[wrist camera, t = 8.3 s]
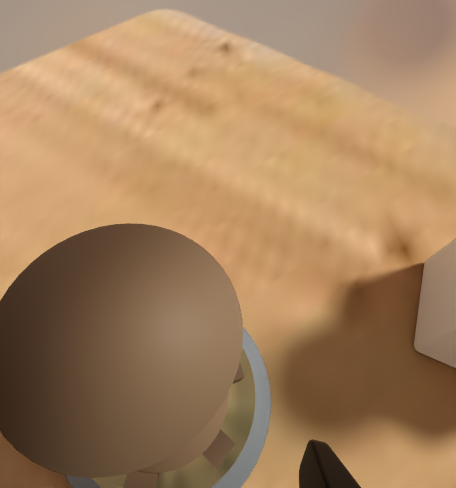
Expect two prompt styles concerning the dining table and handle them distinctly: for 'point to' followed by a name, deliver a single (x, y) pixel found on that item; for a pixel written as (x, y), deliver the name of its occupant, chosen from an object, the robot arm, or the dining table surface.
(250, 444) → the plate
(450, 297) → the medicine bottle
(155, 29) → the dining table surface
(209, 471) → the hub
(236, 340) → the gear spindle
